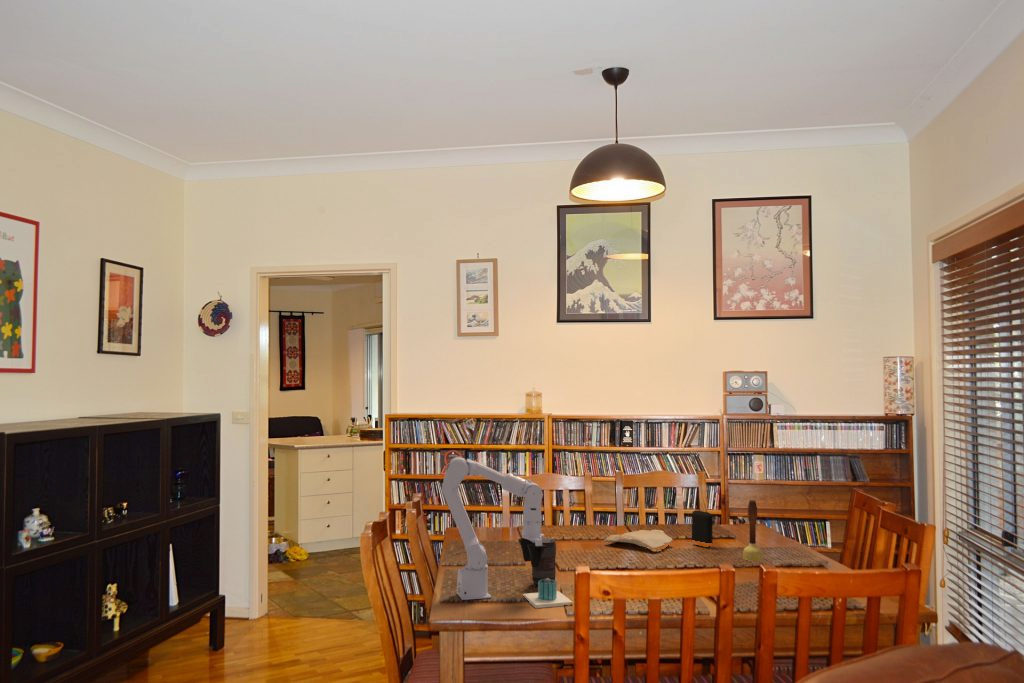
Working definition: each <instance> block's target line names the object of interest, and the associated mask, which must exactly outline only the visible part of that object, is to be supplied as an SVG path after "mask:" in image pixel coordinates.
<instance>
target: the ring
mask: <svg viewBox="0 0 1024 683" xmlns="http://www.w3.org/2000/svg"><path fill="white" fill-rule="evenodd" d="M550 580H551V583H544V581H545V579H541V580H539V581H538V587H537V593H538V598H539V599H541V600H555V599H556V598H557V591H558V590H557V586H558V583H557V582H558V581H557V580H556V579H555V580H552V579H550Z"/></svg>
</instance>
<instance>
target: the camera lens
mask: <svg viewBox="0 0 1024 683" xmlns="http://www.w3.org/2000/svg"><path fill="white" fill-rule="evenodd" d="M541 539H542V545H545V549H544V551H543V553H542V556H541V559H540V563H539V567H532V566H531V577H532V578H531V579H532V582H533V583H532V584H533V586H534V585H536V586H537V587H536V588H538V581H539V580H541V579H546V578H549V579H552V580H556V557H557V543H556V540H555V539H554V538H545V537H541Z"/></svg>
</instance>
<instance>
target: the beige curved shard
mask: <svg viewBox="0 0 1024 683" xmlns="http://www.w3.org/2000/svg"><path fill="white" fill-rule="evenodd" d="M603 542H604V543H616V542H620V543H627V544H633V545H637V546H639V547H641V546H643V547H650V548H657V547H660V546H662V545H665V544H666V543H671V542H672V543H673V542H674V541H673V538H672V537H671V536H669V535H668V534H666V533H665V531H664V530H661V529H651V530H649V529H648V530H646V529H640V530H635V531H630V532H625V533H623V534H611V535H609V536H606V537H605V539H603ZM672 543H671V544H672ZM643 547H642V548H643Z"/></svg>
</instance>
